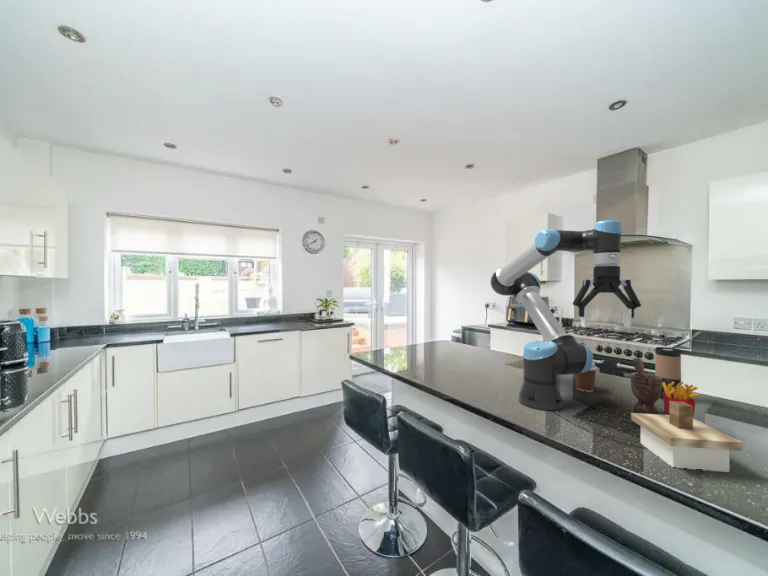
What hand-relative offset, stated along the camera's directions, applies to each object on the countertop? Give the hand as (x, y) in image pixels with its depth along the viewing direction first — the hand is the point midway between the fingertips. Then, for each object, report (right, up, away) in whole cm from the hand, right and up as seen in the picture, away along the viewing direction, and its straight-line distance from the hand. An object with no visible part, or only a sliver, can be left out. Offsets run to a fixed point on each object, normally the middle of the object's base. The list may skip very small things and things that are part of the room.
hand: (605, 327), depth 106 cm
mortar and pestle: (+16, -31, +3) cm, 35 cm away
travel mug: (+38, -31, +18) cm, 52 cm away
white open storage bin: (+2, -31, -25) cm, 40 cm away
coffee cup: (+11, -31, +28) cm, 43 cm away
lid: (+2, -25, -25) cm, 36 cm away
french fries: (+17, -31, -9) cm, 37 cm away
